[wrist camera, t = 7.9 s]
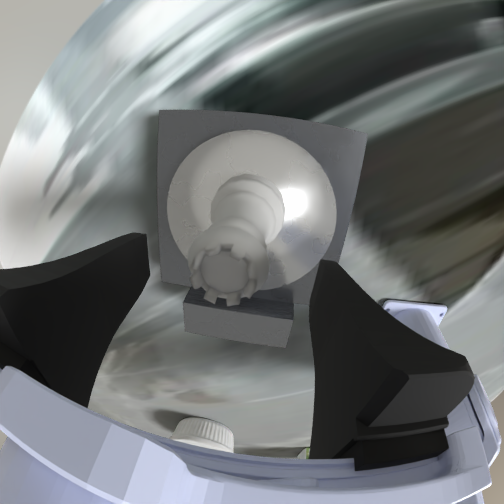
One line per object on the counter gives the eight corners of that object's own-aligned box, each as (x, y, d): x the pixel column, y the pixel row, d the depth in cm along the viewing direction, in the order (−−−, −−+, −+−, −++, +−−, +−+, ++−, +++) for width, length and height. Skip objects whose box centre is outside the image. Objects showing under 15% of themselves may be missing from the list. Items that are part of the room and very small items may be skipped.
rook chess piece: (284, 170, 15) (283, 217, 8) (287, 239, 17) (286, 325, 10) (210, 175, 16) (152, 224, 9) (219, 241, 18) (179, 322, 11)
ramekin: (229, 444, 43) (225, 467, 38) (173, 428, 42) (166, 450, 37) (246, 425, 37) (241, 453, 33) (178, 406, 37) (169, 433, 32)
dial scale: (312, 315, 25) (315, 355, 20) (176, 294, 25) (157, 328, 21) (355, 131, 17) (378, 135, 12) (176, 110, 18) (144, 110, 13)
